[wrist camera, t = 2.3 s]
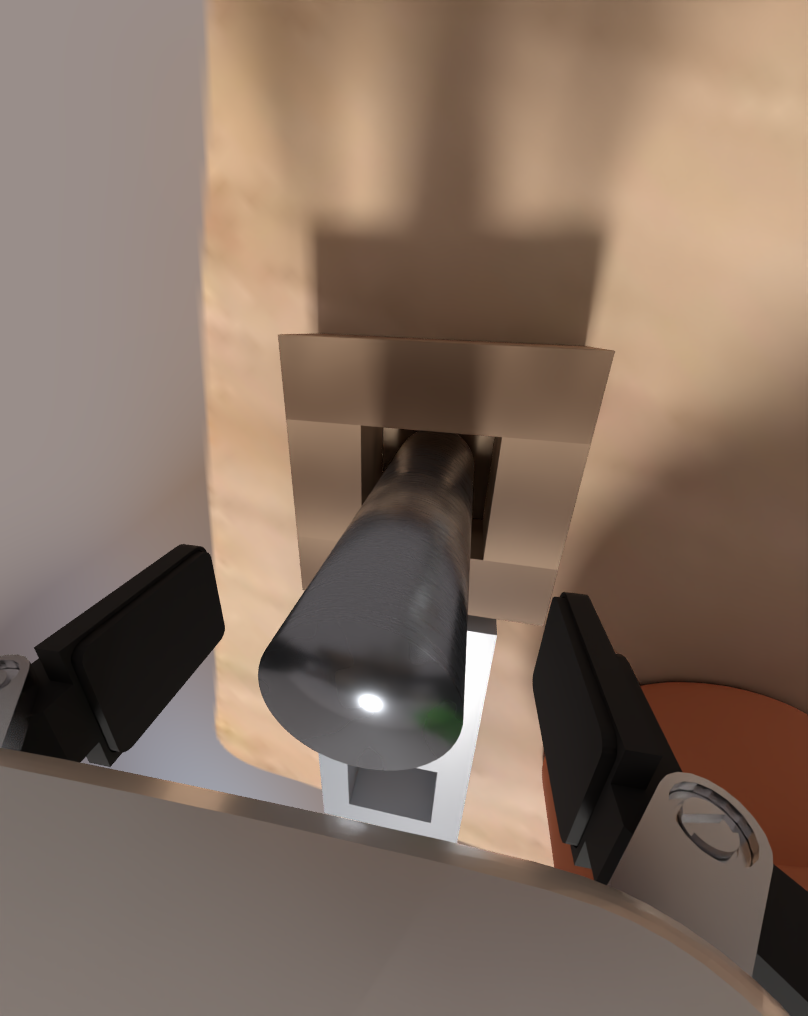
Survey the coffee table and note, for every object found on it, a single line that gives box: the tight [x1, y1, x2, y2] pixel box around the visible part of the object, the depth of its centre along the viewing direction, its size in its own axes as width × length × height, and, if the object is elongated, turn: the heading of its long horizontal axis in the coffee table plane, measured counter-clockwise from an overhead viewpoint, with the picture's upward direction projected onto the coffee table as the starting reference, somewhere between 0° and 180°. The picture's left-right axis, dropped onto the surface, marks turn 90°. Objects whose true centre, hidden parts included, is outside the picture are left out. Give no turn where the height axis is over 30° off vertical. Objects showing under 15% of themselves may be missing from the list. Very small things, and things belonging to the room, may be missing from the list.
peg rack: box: [319, 615, 497, 843], centre depth 25 cm, size 20×10×4 cm, turn 178°
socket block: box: [278, 334, 615, 626], centre depth 18 cm, size 12×12×4 cm
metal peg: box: [258, 430, 474, 771], centre depth 13 cm, size 4×4×14 cm
